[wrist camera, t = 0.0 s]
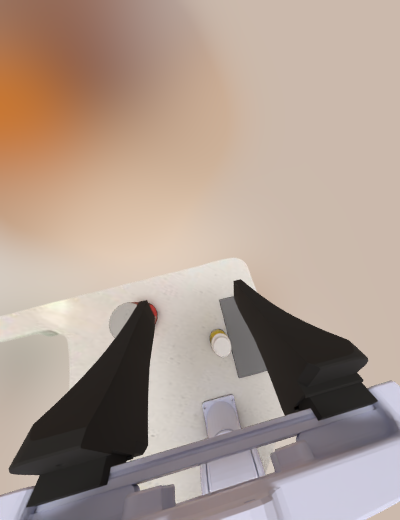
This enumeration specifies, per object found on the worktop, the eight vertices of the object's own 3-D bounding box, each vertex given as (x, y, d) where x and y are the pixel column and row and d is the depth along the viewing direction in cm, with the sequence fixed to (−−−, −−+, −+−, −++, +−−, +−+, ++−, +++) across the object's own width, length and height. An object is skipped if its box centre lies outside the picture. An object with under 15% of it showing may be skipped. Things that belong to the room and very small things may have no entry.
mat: (267, 369, 38) (268, 370, 37) (238, 377, 37) (239, 378, 36) (244, 294, 43) (245, 293, 43) (219, 299, 43) (219, 299, 42)
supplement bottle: (207, 332, 40) (209, 339, 32) (222, 326, 41) (228, 332, 33) (213, 350, 39) (216, 362, 31) (228, 344, 39) (236, 354, 31)
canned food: (152, 298, 43) (137, 296, 32) (162, 324, 41) (149, 331, 30) (128, 309, 42) (104, 311, 31) (136, 336, 40) (114, 348, 29)
